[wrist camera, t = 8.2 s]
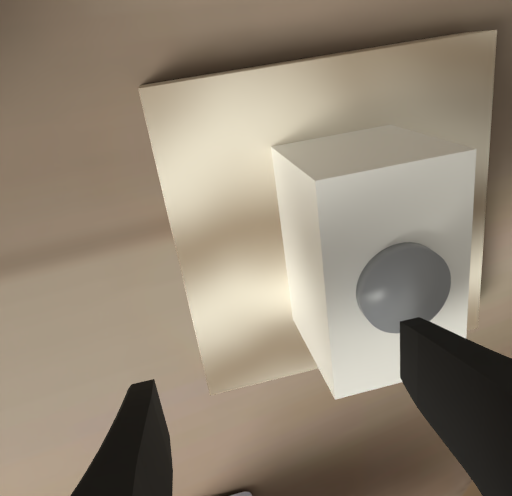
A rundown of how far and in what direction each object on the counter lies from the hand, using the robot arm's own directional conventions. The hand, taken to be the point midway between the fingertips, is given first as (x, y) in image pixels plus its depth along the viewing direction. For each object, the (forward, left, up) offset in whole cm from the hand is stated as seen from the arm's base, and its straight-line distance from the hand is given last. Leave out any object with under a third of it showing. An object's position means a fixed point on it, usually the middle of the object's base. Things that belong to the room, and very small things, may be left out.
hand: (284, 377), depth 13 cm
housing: (+1, -5, -7) cm, 9 cm away
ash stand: (+1, -5, -9) cm, 10 cm away
